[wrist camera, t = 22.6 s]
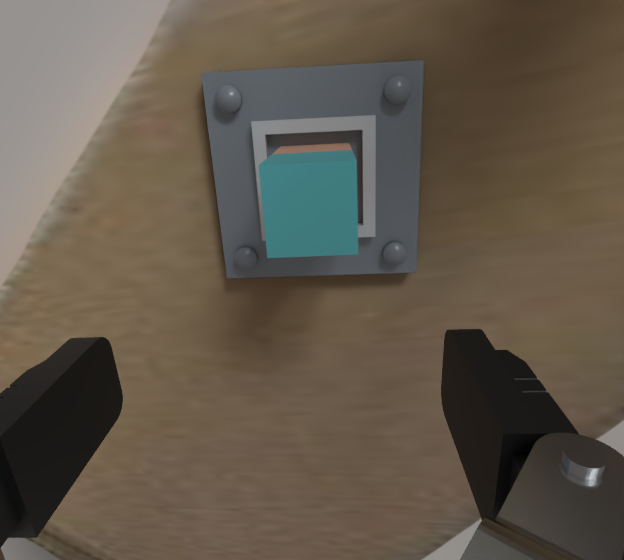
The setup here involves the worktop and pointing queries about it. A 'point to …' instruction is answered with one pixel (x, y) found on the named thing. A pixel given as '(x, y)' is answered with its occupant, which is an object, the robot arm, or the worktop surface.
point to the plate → (310, 131)
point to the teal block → (310, 204)
